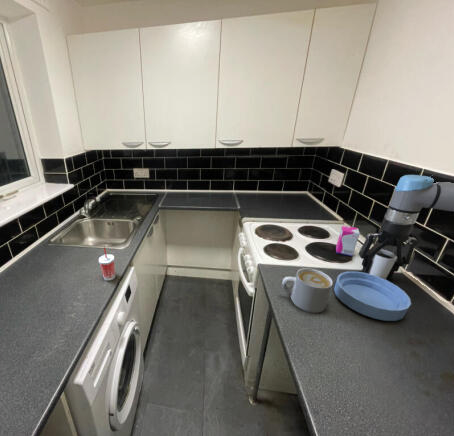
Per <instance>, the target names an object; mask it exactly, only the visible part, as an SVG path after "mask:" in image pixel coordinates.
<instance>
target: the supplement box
mask: <svg viewBox="0 0 454 436" xmlns="http://www.w3.org/2000/svg"><path fill="white" fill-rule="evenodd" d="M360 234H361V232H360V231H359V228H358V227H354V226H353V227H352V226H347V225H342V226H341V229H340V232H339V234H338V235H339V236H338V238H337V243H336V244H335V252H336V253H335V254H339V255H344V256H348V257H353V255H354V252H355V249H356V246H357V243H358V240H359V237H360Z"/></svg>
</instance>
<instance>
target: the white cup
mask: <svg viewBox="0 0 454 436" xmlns="http://www.w3.org/2000/svg"><path fill="white" fill-rule="evenodd" d="M396 259H397V256H395V254H394V252H392V251H389V250H386V249H383V248H382V249H381V250H380V251H379V252H378V253H377V254H376V255H375V256H374V257H373V258H372V259H371V261H372V263H371V266H370V268H369V271H368V273H367V274H371V275H375V276H378V277H380V278H382V279H385V280H387V279H388V278H387V276H388V274H389V272H390V270H391V268H392V267H393V265H394V263H395V261H396Z"/></svg>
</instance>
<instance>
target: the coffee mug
mask: <svg viewBox="0 0 454 436" xmlns="http://www.w3.org/2000/svg"><path fill="white" fill-rule="evenodd" d="M288 283H292V286H290V287H289V286H287V284H288ZM333 283H334V282H333V280H332V278H331V277H330V276H329V275H328V274H326V273H325V272H323V271H321V270H318V269H314V268H309V267H303V268H300V269H298V270H297V271H296V274H295V276H285V277H284V278H283V279H282V282H281V288H282V289H283V291H285V292H286V293H288V294H289V295H290V299H291V301H292V303H293V304H294V305H295V306H296V307H298V308H299V309H301V310H302V311H305V312H308V313H313V314H314V313H315V314H316V313H322V312H323V311H325V309H326V306H327V303H328V299H329V296H330V293H331V290H332V287H333Z"/></svg>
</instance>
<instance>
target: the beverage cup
mask: <svg viewBox="0 0 454 436" xmlns="http://www.w3.org/2000/svg"><path fill="white" fill-rule="evenodd" d="M103 251H104V255H101V256H100V257H99V258H98V263H99V265H100V269H101V272H102V277H103V279H104V281H106V282H107V281H112V280H114V279H115V278H116V269H115V267H116V266H115V256H114V255H113V254H110V253H109V254H108V253H107V250H106V247H103Z"/></svg>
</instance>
